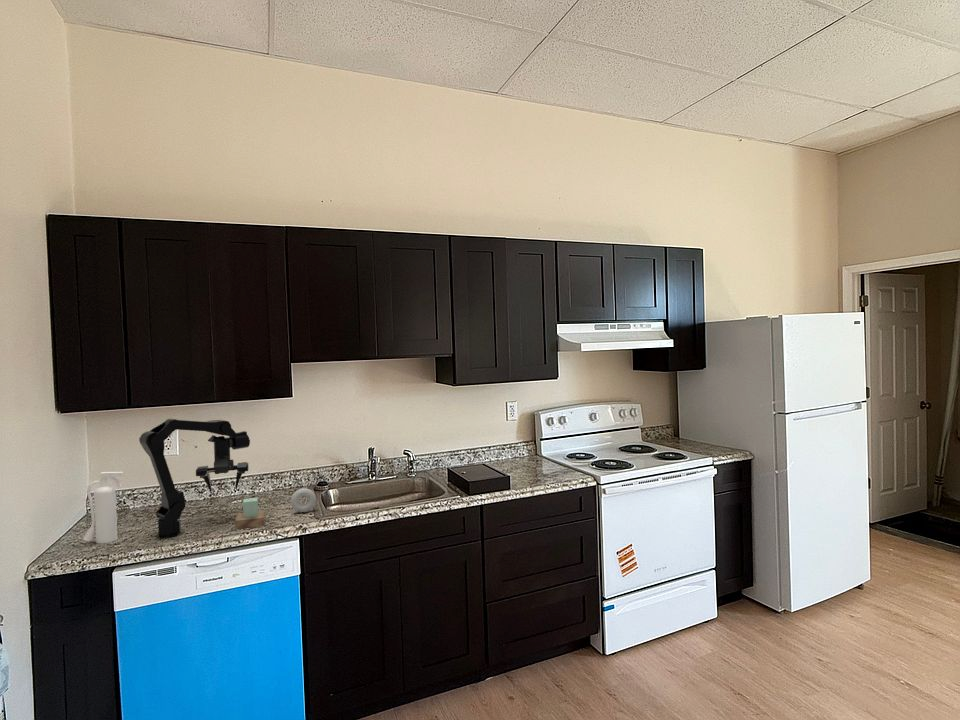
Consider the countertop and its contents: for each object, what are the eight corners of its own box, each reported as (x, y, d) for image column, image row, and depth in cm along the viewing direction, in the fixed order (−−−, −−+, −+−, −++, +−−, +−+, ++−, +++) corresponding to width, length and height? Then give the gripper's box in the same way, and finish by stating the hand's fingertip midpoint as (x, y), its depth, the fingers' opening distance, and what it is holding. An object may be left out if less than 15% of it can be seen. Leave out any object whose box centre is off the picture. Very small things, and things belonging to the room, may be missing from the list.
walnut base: (235, 531, 202) (235, 520, 202) (238, 523, 212) (237, 513, 212) (264, 527, 206) (263, 517, 205) (265, 520, 215) (265, 510, 215)
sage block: (243, 518, 205) (243, 502, 205) (244, 514, 210) (243, 499, 210) (257, 516, 207) (257, 500, 207) (258, 512, 212) (257, 497, 212)
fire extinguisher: (85, 540, 195) (84, 472, 195) (124, 535, 201) (124, 469, 200) (80, 546, 189) (80, 476, 189) (121, 541, 195) (121, 473, 194)
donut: (316, 509, 226) (315, 485, 226) (316, 511, 223) (315, 487, 223) (290, 512, 222) (290, 488, 222) (291, 515, 219) (290, 490, 219)
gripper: (193, 457, 204) (194, 498, 204) (246, 452, 210) (248, 492, 211) (196, 452, 214) (198, 491, 214) (247, 448, 221) (249, 485, 221)
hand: (223, 490), depth 215 cm, fingers open, 9 cm apart
